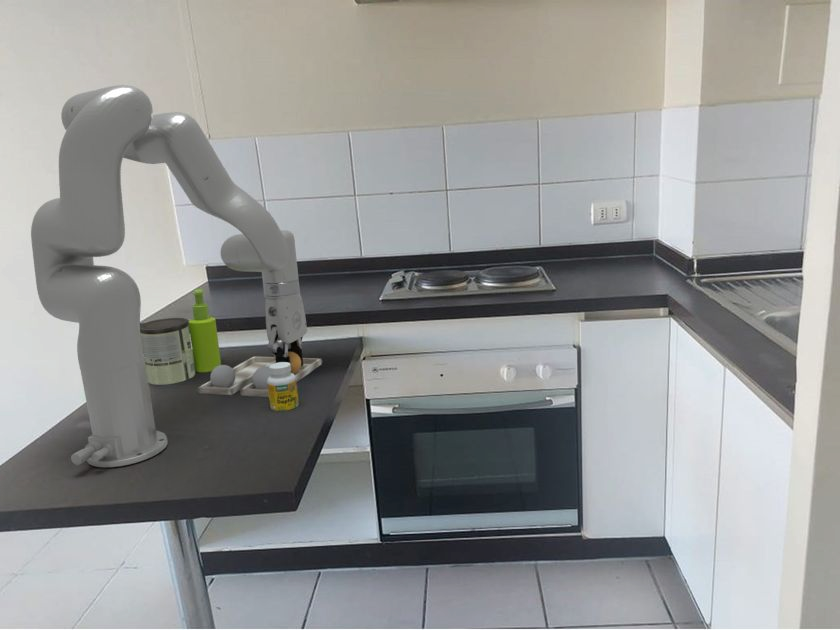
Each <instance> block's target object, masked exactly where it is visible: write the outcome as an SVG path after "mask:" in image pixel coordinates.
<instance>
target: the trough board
mask: <svg viewBox="0 0 840 630" xmlns="http://www.w3.org/2000/svg"><path fill="white" fill-rule="evenodd" d="M322 359H323V358H316V357H315V358H311V357H303V366H301V367H300V369H299V370H298V371H297V372H296V373H294V375H295V377H296V383H297V382H299V381H300V380H302V379H303V378H305V377H306V376H307V375H309V374H310V373H312V372H313V371H314V370H316V369H317V368H319V367H320V366H322V364H323V360H322ZM274 363H276V360H275V357H274V356H252V357H250V358H248V359H246V360H245V361H243V362H241V363H239V364H237V365H236V366H234V367H231V368H232V369H233V370H234V372H235V381H234V383H233V384H232V385H231V386H230V387H228V388H221V387H215V386H214V385H213V384H212V382H211V379H210V380H208V381H207V382H206V383H203V384H201V385H200V386H198V387H197V392H198V394H204V395H205V394H206V395H221V396H233V395H234V394H236V393H237V392H239V391H240V396H241V397H242V396H245V397H262V398H269V392H268V390H264V389H258V388H257V387H256V386H255V385H254V382H253V375H254V373H255V372H256V370H257V369H259V368H261V367H264V366H268V367H269V366H270V365H271V364H274Z"/></svg>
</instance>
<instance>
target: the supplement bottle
mask: <svg viewBox="0 0 840 630" xmlns="http://www.w3.org/2000/svg"><path fill="white" fill-rule="evenodd" d="M269 372H270V374H271V376H269V378H268V379H267V385H268V392H269V397H268V399H269V407H270V410H273V411H276V412H286V411H290V410H292V409H295V408H297V407H298V406H299V405H300V402H299V392H298V385H297V382H296V377H295V375H294V374H293V373H290V372H291V364H290V363H288V362H279V363H274V364H271V365H270V366H269Z"/></svg>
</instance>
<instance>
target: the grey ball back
mask: <svg viewBox="0 0 840 630" xmlns="http://www.w3.org/2000/svg"><path fill="white" fill-rule="evenodd" d="M232 368H233V367H231V366H229V365H227V364H221V365H219V366H217V367H215V368H214V369H213V371H210V380H211V382H212V384H213V385H214V386H215V387H221V388H228V387H230V386H231V385H232V384H233V383H234V381H235V372H234V370H233V369H232Z"/></svg>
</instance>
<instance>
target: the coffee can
mask: <svg viewBox="0 0 840 630" xmlns="http://www.w3.org/2000/svg"><path fill="white" fill-rule="evenodd" d="M140 333H141V342H142V349H143V355H144V360H145V366H146V372H147V379H148V384H152V385H171V384H177V383H181V382H184V381H187V380H189V379H191V378H193V377H194V376H195V375H196V371H195V366H194V359H193V351H192V344H191V337H190V330H189V319H188V318H185V317H168V318H162V319H161V318H160V319H154V320H150V321H147V322H144V323H140Z"/></svg>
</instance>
